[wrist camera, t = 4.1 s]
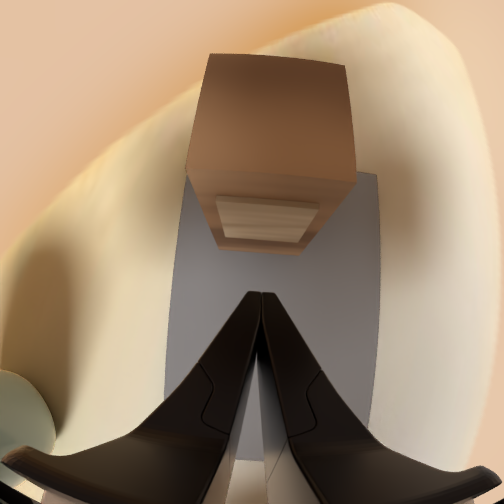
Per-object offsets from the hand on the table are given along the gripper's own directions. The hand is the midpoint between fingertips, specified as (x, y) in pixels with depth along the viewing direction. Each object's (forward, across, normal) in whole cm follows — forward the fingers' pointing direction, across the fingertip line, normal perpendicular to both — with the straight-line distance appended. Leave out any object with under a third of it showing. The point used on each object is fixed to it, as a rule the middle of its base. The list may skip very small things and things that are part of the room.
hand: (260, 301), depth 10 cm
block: (+9, 0, +2) cm, 9 cm away
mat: (+6, -1, +6) cm, 8 cm away
